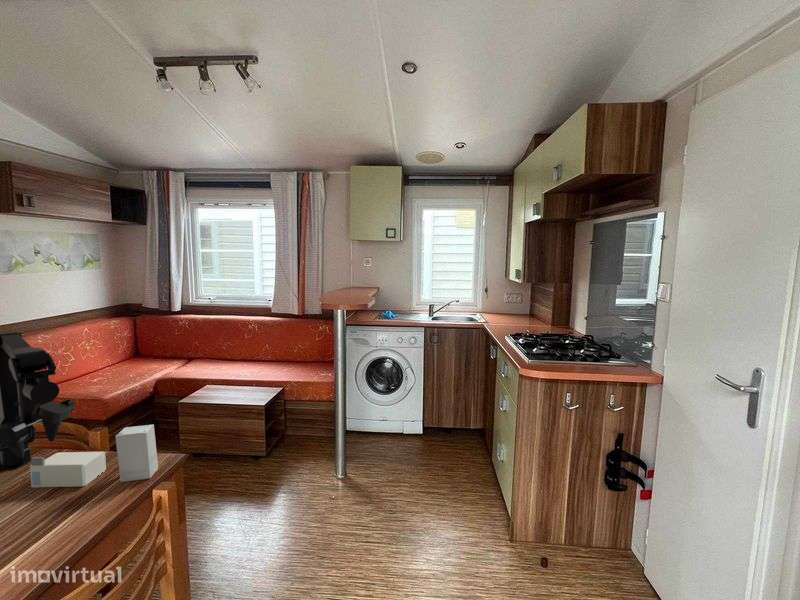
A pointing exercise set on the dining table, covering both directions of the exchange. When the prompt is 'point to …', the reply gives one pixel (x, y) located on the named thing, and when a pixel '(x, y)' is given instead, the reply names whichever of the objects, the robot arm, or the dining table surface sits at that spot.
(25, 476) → the dining table surface
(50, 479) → the pale grey panel
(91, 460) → the carton
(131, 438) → the skincare box
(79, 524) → the dining table surface
